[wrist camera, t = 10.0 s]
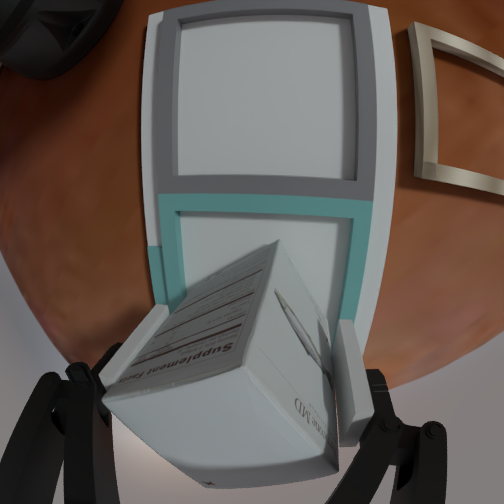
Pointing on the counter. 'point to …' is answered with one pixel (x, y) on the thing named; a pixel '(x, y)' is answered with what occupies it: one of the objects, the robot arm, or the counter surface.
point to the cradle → (427, 104)
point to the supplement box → (238, 380)
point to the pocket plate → (271, 146)
